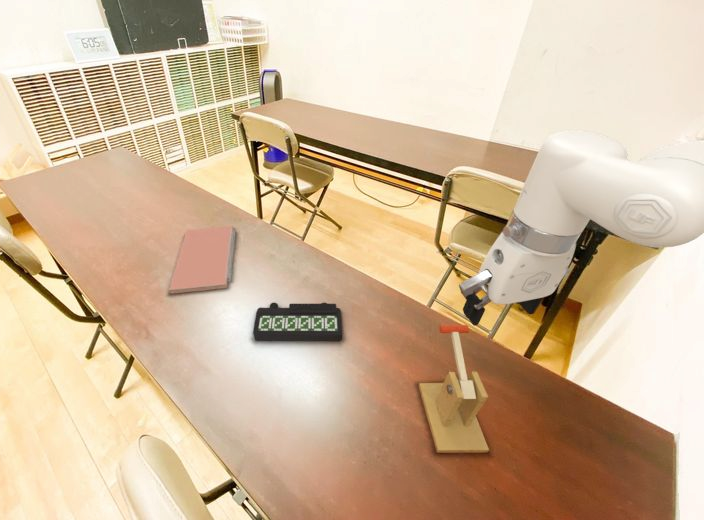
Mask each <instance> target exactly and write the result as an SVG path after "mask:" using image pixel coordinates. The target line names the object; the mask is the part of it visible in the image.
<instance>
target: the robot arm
mask: <svg viewBox="0 0 704 520" xmlns="http://www.w3.org/2000/svg"><path fill="white" fill-rule="evenodd" d="M590 221H592V222H594V223H596V224H597V225H599V226H600V227H602V228H604V229H605V230H607V231H608V232H610V233H612V234H614V235H615V236H618V237H619V238H621V239H624V240H626V241H628V242H631V243H633V244H635V245H640V246H644V247H650V248H662V249H663V248H673V247H679V246H683V245H686V244H688V243H690V242H693V241H694V240H696V239H697V238H699V237H700V236H702V235H703V234H704V140H692V141H691V140H690V141H681V142H678V143H672V144H668V145H664V146H662V147H659V148H657V149H654V150H653V151H651V152H649V153H647V154H645V155H644V156H643V157H641V158H640V159H639V160H629V159H628V151H627V148H626V147H625V145H624V144H623V143H622V142H620V141H619V140H616V139H615V138H613V137H610V136H608V135H605V134H601V133H597V132H593V131H587V130H580V129H579V130H578V129H575V130H571V129H569V130H568V129H567V130H561V131H557V132H554V133H552V134H550V135H549V136H548V137H546V138H545V139H544V141H543V142H542V144H541V146H540V148H539V150H538V152H537V154H536V157H535V159H534V162H533V163H532V166H531V168H530V170H529V173H528V175H527V176H526V179H525V182H524V184H523V186H522V189H521V191H520V193H519V195H518V198H517V200H516V202H515V205H514V207H513V209H512V211H511V213H510V215H509V218H508V220H507V222H506V224H505V226H504V227H503V229H502V231H501V232H500V234H499V235H498V237H497V238H496V239H495V241H494V242H493V244H492V245H491V247H490V249H489V250H488V252H487V253H486V256H485V257H484V259H483V260H482V261H483V262H482V263H481V265H480V268H479V270H478V273H477V274H475V275H473V276H471V277H469V278H467V279H465V280H463V281H461V282H459V284H458V288H459V290H460V294H461V295H462V296H463V298H464V299H465V303H464V305H463V308H462V312H463V315H464V316H465V318H467V319H468V320H469V321H470V323H471V324H472V326H478V325H479V323H480V322H481V320H482V318H483V316H484V313H485V312H486V308H485V307H486V306H487V305H488V304H489V303H491V302H492V304H494V305H498V306H499V305H500V306H503V305H510V304H516V303H518V304H519V306H520V307H521V308H522V310H524V312H526V313H527V314H528V315H534V314H535V312H536V311H537V309H538V308H539V306H540V305H541V303H542V302H543V300H544V298H545V297H548V296H551V295H552V294H553V293H554V292H555V291H556V290H557V288H558V287H559V285H560V283H561V281H562V280H563V279H564V278H565V277H566V276H568V274H570V273H571V269H570V267H569V266H570V264H571V262H572V259H573V257H574V254H575V250H576V247H577V241H578V239H579V238H580V236H581V235H582V233H583V232H584V230H585V228H586V227H587V225H588V224H589V222H590ZM487 285H488V286H487ZM481 291H483V292H484V293H485V295H484V296H483V297H481V298H479V296H478V295H477V294H478V293H479V292H481Z"/></svg>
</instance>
